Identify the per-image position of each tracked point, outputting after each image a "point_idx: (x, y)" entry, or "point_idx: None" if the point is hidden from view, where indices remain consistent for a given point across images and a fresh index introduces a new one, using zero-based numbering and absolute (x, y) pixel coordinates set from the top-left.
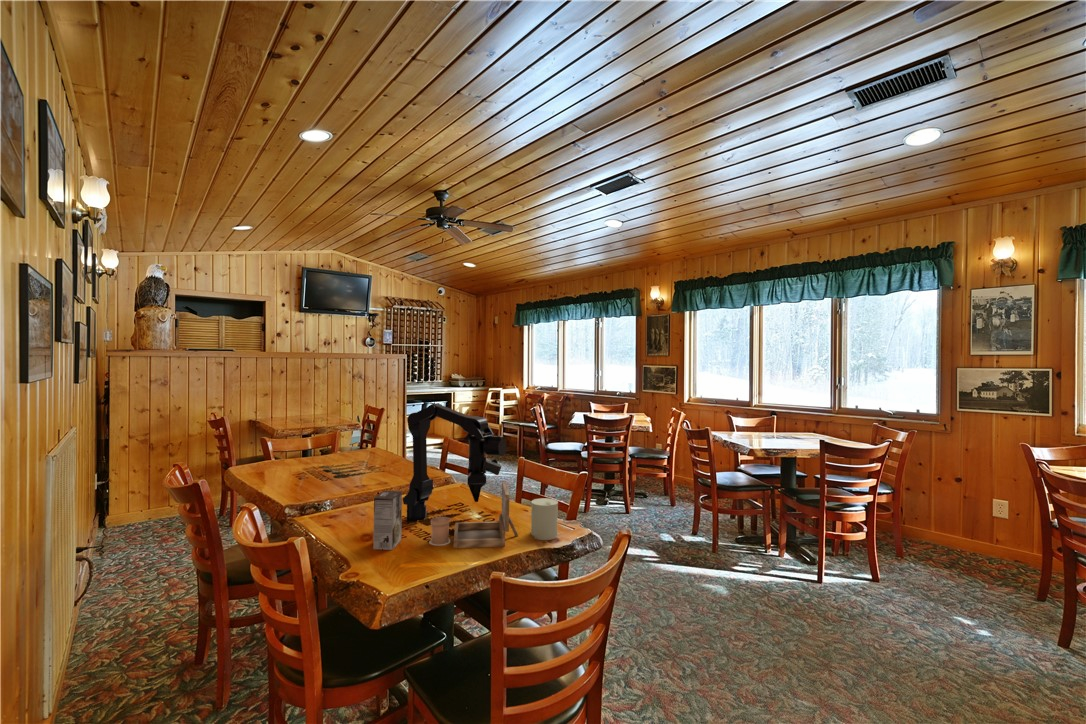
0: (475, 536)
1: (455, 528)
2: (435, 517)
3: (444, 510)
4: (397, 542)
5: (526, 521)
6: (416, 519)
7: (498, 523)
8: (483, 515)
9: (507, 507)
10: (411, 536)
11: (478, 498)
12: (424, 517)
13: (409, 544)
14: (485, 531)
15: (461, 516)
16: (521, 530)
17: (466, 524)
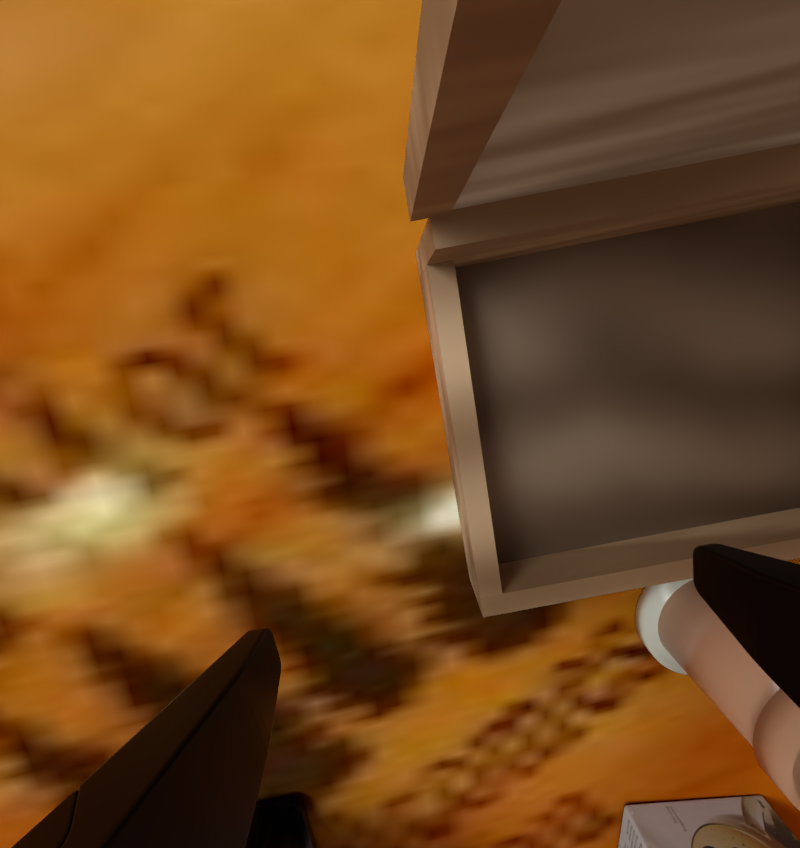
0: (628, 425)
1: (622, 587)
2: (797, 808)
3: (28, 742)
4: (697, 809)
5: (142, 31)
6: (302, 840)
7: (453, 268)
8: (68, 459)
9: None
10: (567, 774)
11: (790, 566)
12: (264, 814)
13: (691, 748)
14: (517, 371)
15: (137, 609)
16: (411, 66)
17: (492, 532)
